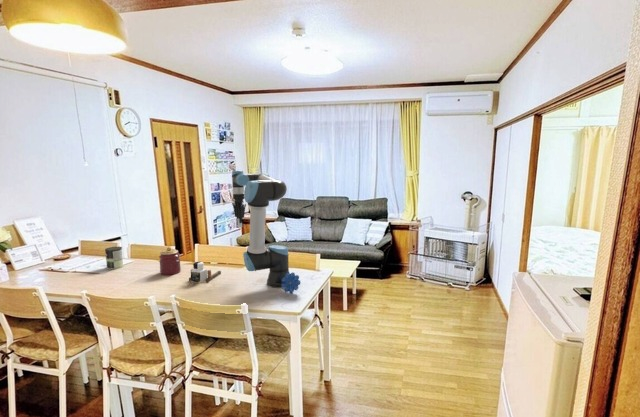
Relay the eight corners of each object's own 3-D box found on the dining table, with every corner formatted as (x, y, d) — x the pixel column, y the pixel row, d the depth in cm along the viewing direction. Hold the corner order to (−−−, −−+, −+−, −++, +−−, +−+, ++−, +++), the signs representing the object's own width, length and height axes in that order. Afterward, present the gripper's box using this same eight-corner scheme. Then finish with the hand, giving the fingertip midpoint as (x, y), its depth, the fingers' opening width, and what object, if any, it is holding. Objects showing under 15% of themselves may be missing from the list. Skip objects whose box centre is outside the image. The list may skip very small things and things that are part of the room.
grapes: (303, 290, 191) (302, 270, 190) (299, 295, 185) (298, 274, 183) (284, 288, 194) (283, 269, 193) (279, 293, 188) (279, 272, 186)
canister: (166, 276, 218) (164, 250, 215) (156, 273, 226) (154, 247, 223) (184, 271, 228) (183, 246, 226) (174, 268, 236) (173, 243, 233)
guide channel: (202, 272, 225) (202, 263, 224) (221, 273, 223) (220, 264, 222) (188, 281, 209) (187, 271, 208) (208, 282, 206) (207, 272, 205)
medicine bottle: (190, 282, 207) (189, 263, 206) (198, 278, 214) (197, 260, 212) (200, 283, 205) (199, 264, 203) (207, 279, 212) (206, 261, 210)
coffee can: (105, 270, 232) (103, 250, 230) (108, 266, 241) (106, 247, 240) (122, 268, 236) (121, 249, 235) (124, 264, 246) (122, 245, 244)
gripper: (248, 193, 224) (250, 227, 228) (237, 192, 233) (239, 225, 236) (239, 194, 219) (241, 229, 222) (228, 193, 227) (229, 227, 231)
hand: (240, 227), depth 229 cm, fingers closed
